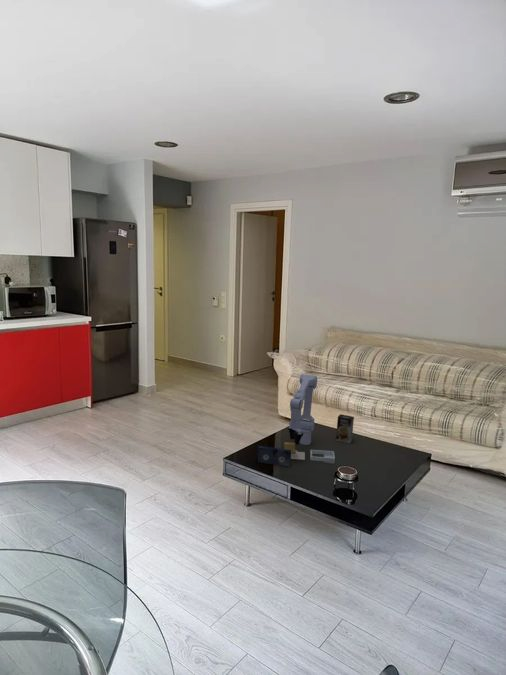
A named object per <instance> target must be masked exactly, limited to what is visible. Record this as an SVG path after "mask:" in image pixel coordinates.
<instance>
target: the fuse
mask: <svg viewBox="0 0 506 675" xmlns="http://www.w3.org/2000/svg"><path fill="white" fill-rule="evenodd" d="M283 446H284V448H283V449H287V450H291V454H295V450H296V445H295V442H292V441H291V442H290V441H287V442H286V441H284V445H283Z"/></svg>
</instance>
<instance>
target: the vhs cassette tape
mask: <svg viewBox="0 0 506 675" xmlns="http://www.w3.org/2000/svg"><path fill="white" fill-rule="evenodd" d="M291 460H292V459H291V450H287V449H284V448H279V447H271V446H264V445H258V448H257V463H261V464H267V465H275V466H283V467H288V468H290V467H291V463H292V462H291Z"/></svg>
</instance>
